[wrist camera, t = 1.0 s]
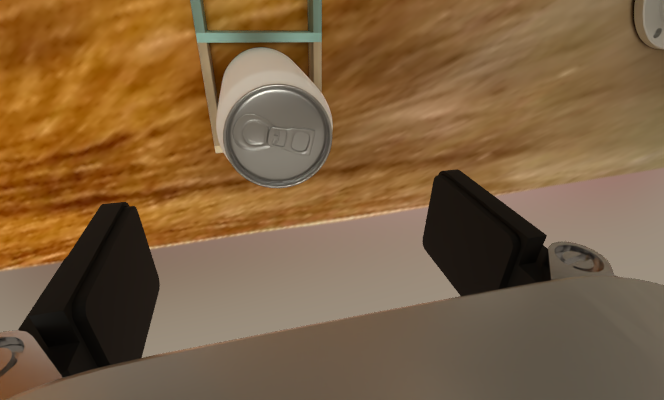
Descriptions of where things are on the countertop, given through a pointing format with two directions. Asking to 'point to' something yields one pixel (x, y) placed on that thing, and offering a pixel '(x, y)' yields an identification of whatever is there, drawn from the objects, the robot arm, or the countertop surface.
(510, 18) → the countertop surface
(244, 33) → the slot rack
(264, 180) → the can
